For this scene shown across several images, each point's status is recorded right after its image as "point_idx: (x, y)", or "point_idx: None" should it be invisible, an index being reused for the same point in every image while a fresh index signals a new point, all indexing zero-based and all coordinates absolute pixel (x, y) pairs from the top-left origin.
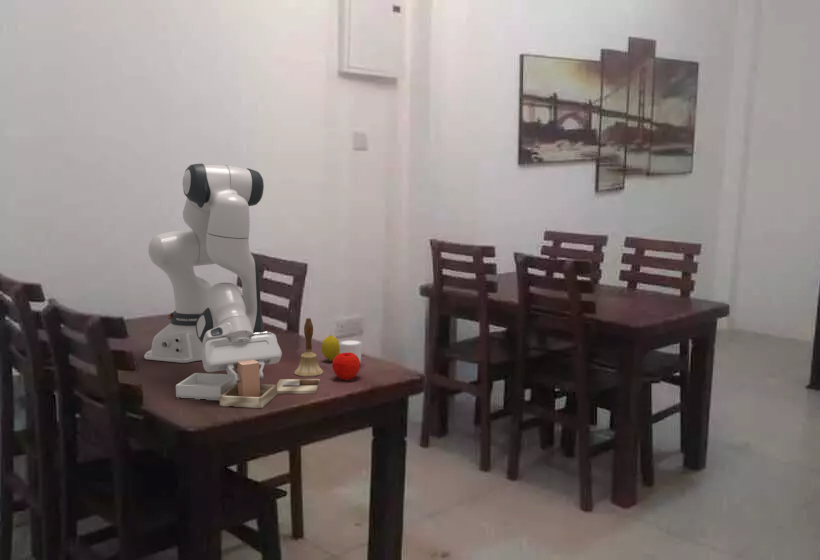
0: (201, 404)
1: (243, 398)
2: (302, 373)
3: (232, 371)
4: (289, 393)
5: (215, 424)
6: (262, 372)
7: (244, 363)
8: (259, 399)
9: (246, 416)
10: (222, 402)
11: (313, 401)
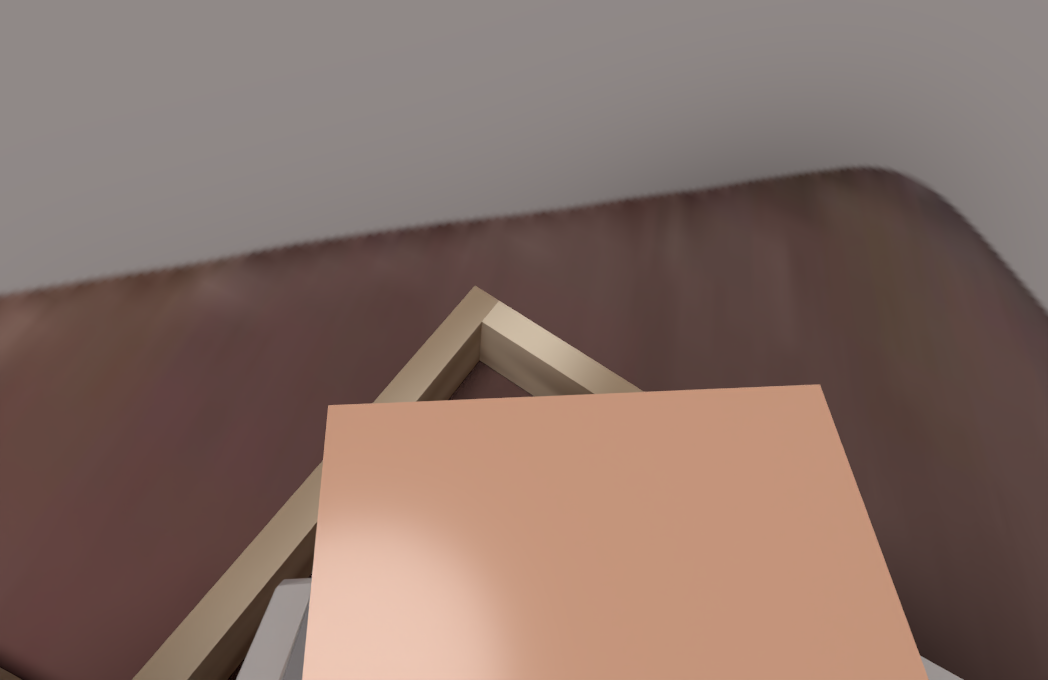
0: (964, 675)
1: (623, 383)
2: None
3: (926, 669)
4: (10, 675)
5: (798, 184)
6: (257, 637)
7: (761, 527)
8: (493, 304)
9: (615, 224)
10: None
11: (19, 309)
